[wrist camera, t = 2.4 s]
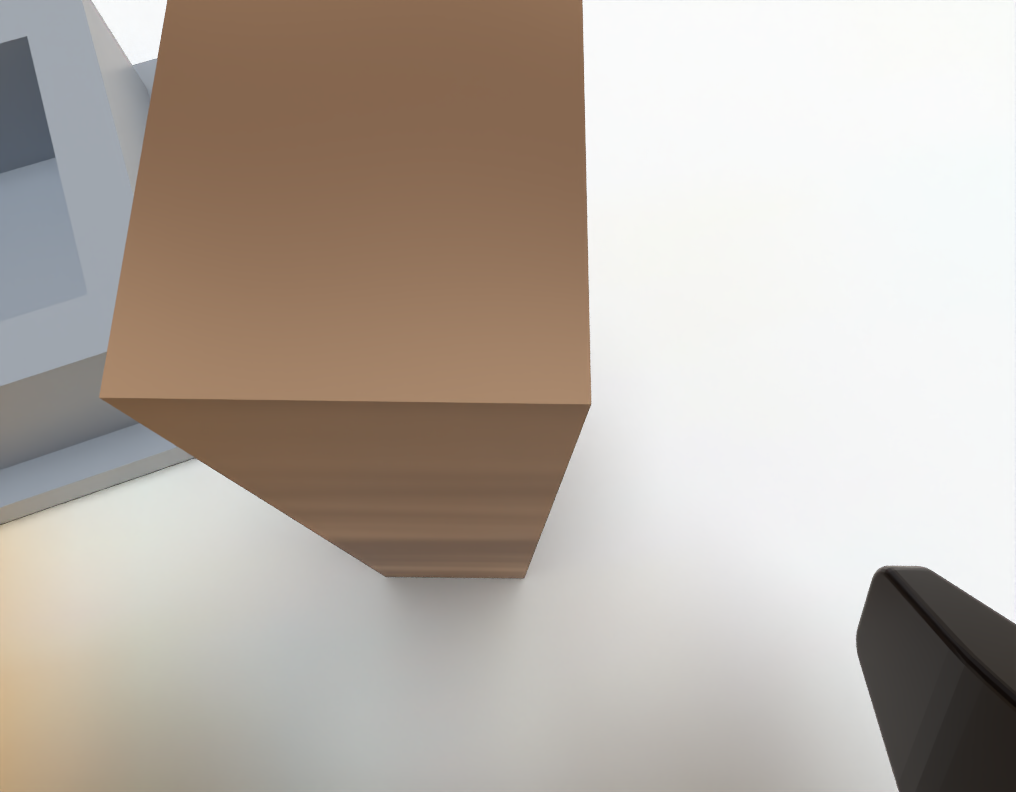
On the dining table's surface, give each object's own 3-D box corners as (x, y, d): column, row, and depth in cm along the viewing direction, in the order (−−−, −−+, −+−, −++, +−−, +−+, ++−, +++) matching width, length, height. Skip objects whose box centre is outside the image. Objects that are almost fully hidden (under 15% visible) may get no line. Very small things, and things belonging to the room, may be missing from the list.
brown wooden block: (524, 578, 17) (591, 404, 5) (385, 576, 17) (98, 397, 5) (524, 401, 18) (580, -97, 6) (395, 399, 18) (186, -105, 6)
